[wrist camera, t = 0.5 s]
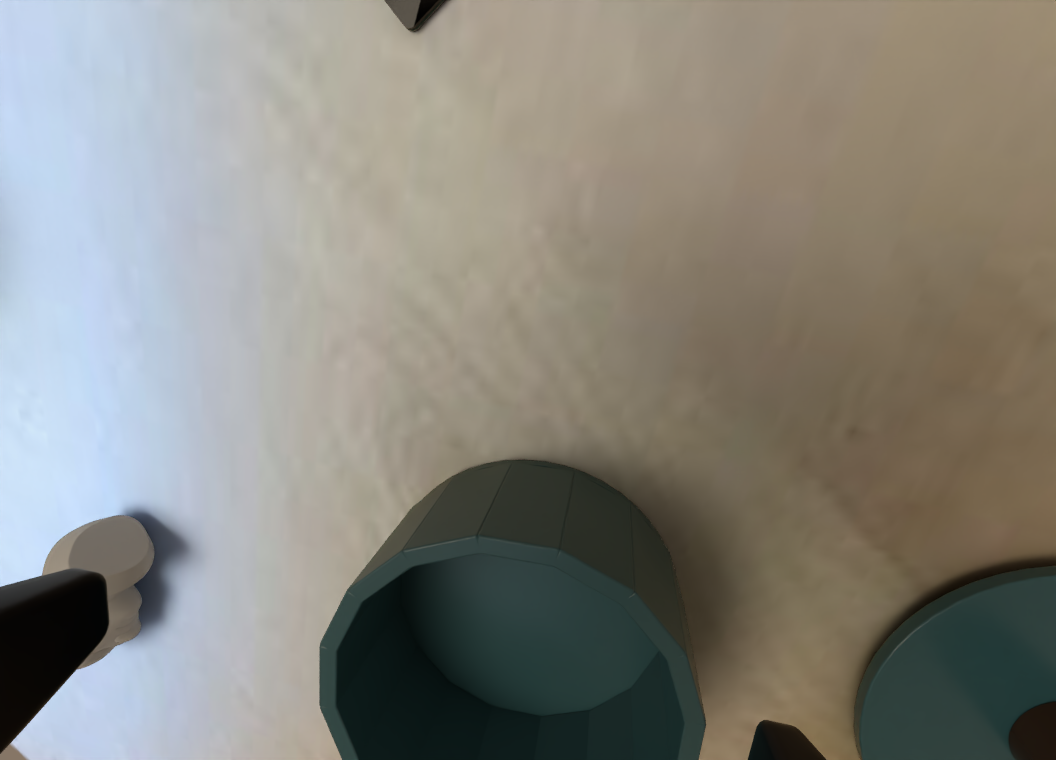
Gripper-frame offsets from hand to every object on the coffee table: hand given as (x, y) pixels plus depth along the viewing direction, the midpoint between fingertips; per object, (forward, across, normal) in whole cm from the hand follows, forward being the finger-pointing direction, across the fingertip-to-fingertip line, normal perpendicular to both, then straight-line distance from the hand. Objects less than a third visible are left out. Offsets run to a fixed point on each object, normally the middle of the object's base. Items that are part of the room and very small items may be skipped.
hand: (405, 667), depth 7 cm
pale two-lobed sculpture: (+14, +18, +12) cm, 26 cm away
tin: (+14, 0, +8) cm, 16 cm away
